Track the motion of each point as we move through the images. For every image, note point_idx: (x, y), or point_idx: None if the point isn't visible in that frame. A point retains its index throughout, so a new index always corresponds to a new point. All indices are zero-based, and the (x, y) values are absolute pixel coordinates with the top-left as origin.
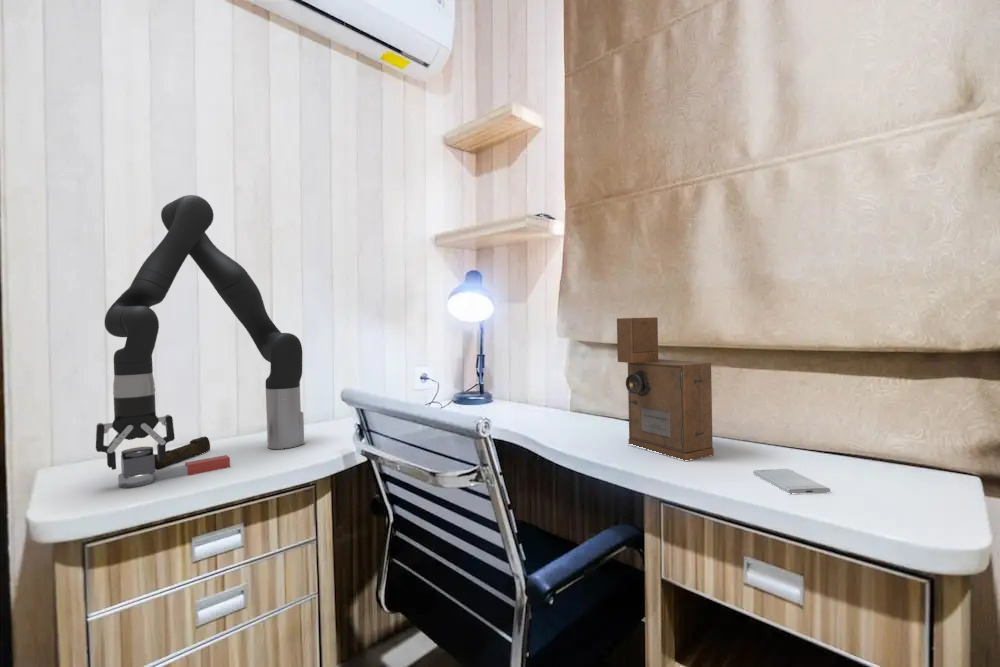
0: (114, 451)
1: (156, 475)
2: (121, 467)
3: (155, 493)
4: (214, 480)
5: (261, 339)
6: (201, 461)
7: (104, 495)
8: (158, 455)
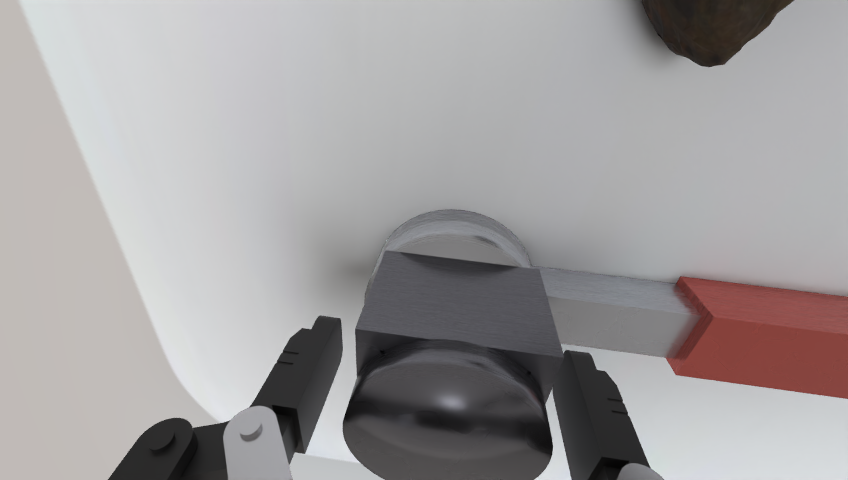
0: (296, 418)
1: None
2: (378, 271)
3: None
4: (648, 450)
5: None
6: (768, 368)
7: None
8: (563, 410)
